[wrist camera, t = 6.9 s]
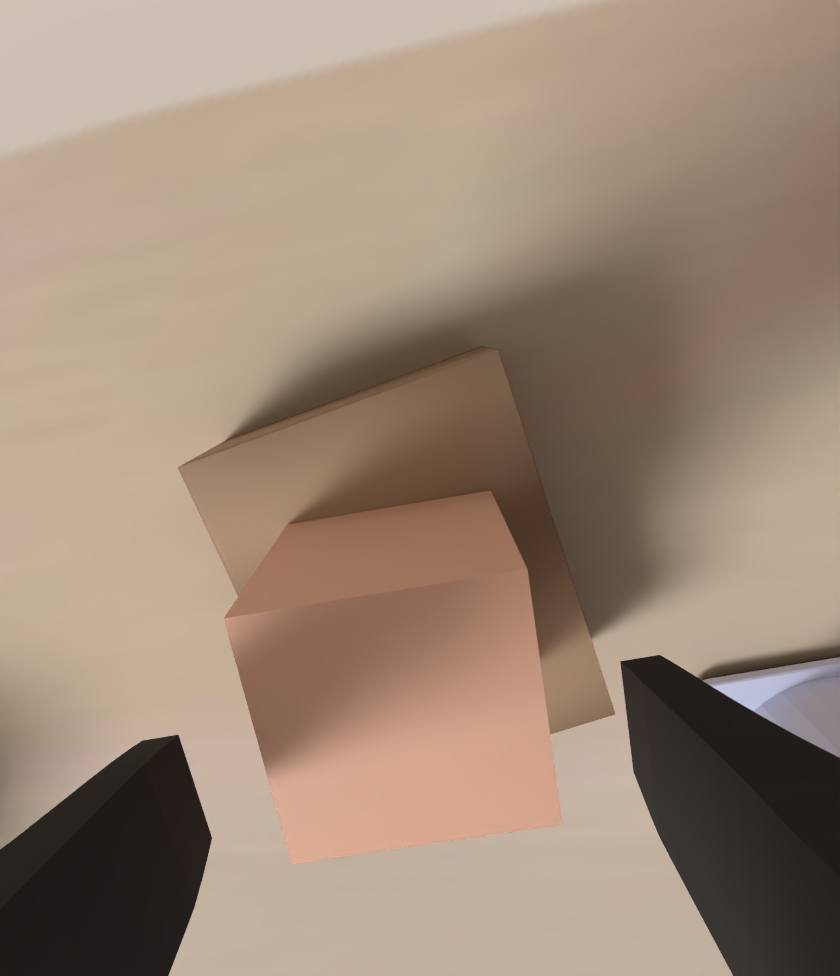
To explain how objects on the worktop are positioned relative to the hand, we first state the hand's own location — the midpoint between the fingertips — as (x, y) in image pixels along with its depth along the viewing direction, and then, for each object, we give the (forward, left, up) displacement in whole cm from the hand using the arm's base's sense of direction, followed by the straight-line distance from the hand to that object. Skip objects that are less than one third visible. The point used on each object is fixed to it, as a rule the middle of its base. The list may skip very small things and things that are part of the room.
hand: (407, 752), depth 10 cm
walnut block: (0, 0, -10) cm, 10 cm away
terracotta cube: (0, 0, -6) cm, 6 cm away
